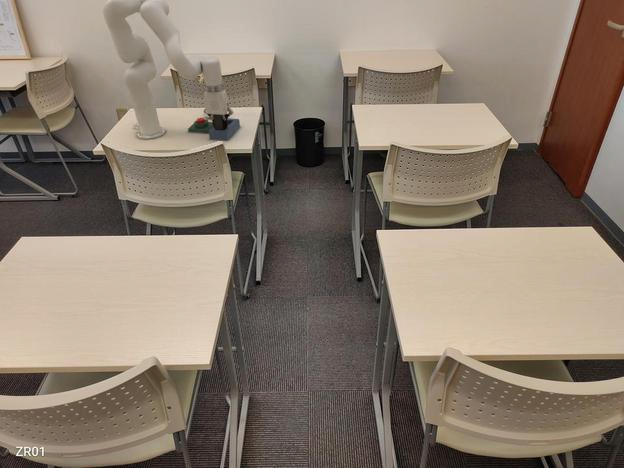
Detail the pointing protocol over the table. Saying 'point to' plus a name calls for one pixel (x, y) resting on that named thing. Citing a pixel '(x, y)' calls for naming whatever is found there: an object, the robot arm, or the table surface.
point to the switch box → (201, 127)
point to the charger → (218, 122)
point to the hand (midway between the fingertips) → (220, 126)
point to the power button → (200, 120)
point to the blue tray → (228, 132)
